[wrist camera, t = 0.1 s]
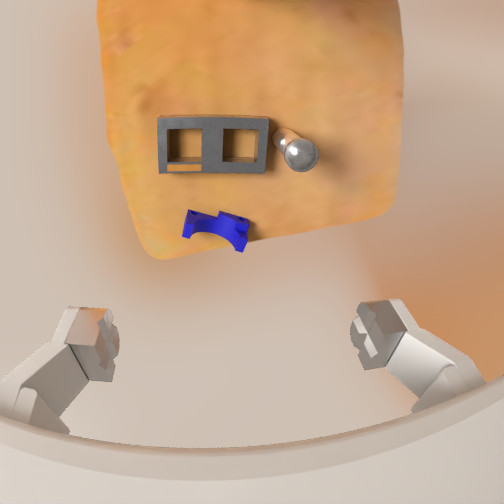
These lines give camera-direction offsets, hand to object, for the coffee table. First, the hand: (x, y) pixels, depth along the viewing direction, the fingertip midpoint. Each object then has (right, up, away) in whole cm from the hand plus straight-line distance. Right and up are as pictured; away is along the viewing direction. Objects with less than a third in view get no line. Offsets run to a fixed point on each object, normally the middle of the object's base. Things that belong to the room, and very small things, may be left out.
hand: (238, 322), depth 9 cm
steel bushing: (+6, +23, +43) cm, 50 cm away
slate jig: (-7, +22, +42) cm, 48 cm away
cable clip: (-7, +9, +51) cm, 53 cm away
